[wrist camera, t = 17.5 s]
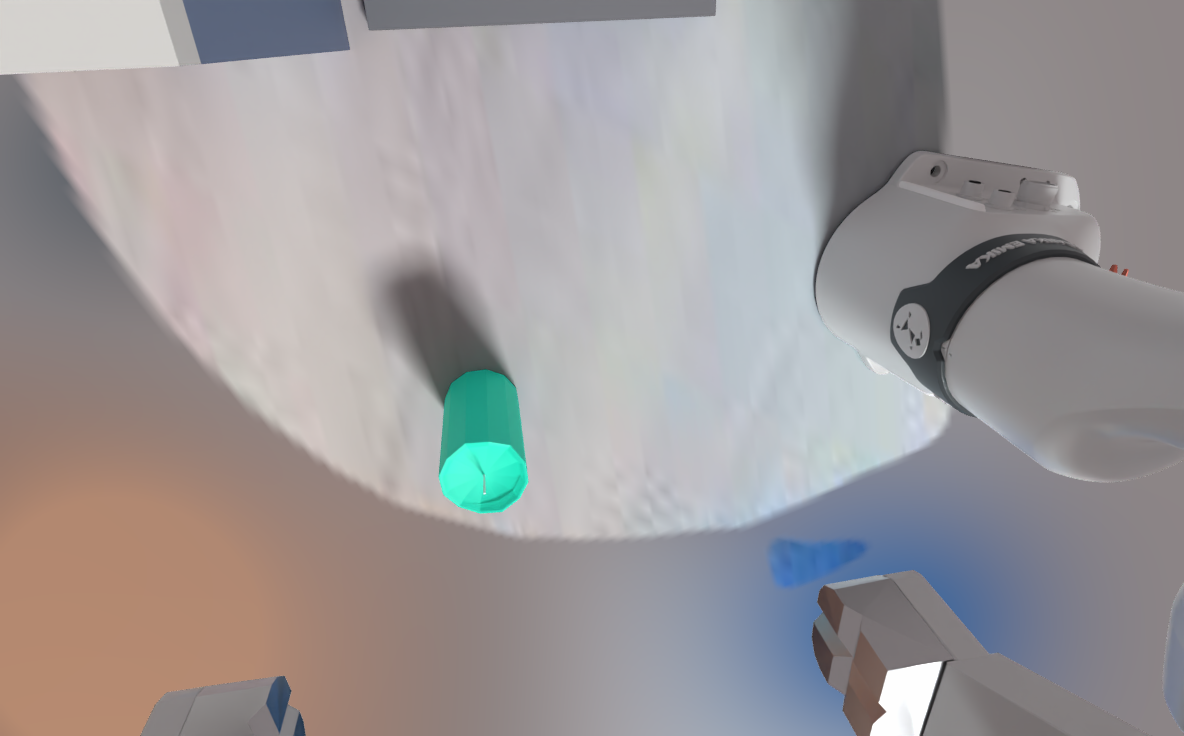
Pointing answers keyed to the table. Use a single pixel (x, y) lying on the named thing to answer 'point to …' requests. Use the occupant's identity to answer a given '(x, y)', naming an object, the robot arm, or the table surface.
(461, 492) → the candle
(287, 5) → the tall slate-blue pillar
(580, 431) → the table surface
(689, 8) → the board
